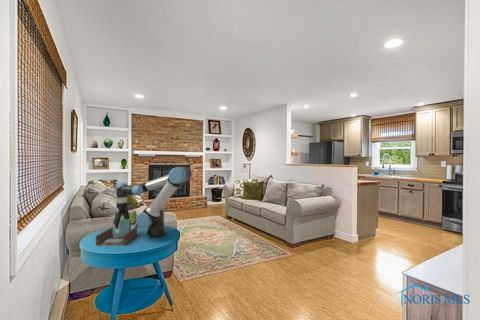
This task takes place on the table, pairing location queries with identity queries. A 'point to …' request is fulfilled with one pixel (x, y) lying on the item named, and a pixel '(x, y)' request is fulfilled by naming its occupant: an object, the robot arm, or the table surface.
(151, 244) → the table surface
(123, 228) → the teal rectangular slab
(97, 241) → the rack
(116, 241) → the offcut upper
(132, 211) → the tea box
